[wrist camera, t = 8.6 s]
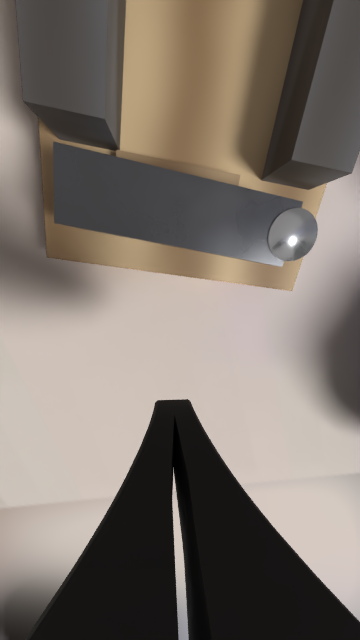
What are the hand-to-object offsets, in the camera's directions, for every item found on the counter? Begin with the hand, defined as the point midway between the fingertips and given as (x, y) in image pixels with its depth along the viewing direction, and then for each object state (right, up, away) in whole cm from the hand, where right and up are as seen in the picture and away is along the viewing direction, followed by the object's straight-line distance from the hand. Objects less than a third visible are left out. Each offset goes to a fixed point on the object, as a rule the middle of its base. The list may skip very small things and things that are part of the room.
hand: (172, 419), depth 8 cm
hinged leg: (+1, +10, +4) cm, 11 cm away
